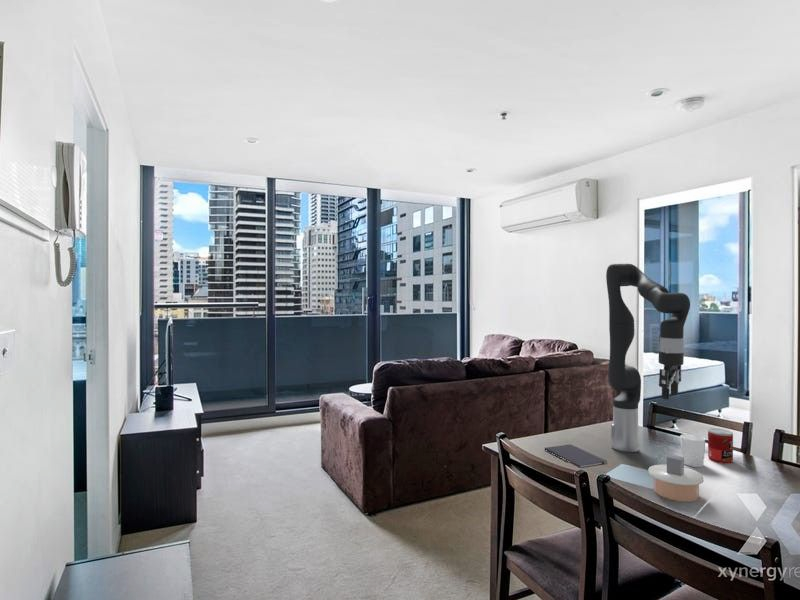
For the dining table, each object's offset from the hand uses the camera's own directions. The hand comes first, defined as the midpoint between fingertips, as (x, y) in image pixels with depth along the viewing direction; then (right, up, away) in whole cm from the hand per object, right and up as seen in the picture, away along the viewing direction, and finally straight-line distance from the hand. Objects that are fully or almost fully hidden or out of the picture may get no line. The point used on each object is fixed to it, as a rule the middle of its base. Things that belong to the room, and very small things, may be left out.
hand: (669, 396), depth 164 cm
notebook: (-26, -28, +19) cm, 43 cm away
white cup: (+14, -27, +10) cm, 32 cm away
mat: (-12, -28, -1) cm, 30 cm away
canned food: (+27, -27, +14) cm, 41 cm away
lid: (-7, -22, -15) cm, 28 cm away
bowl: (-7, -28, -15) cm, 32 cm away
